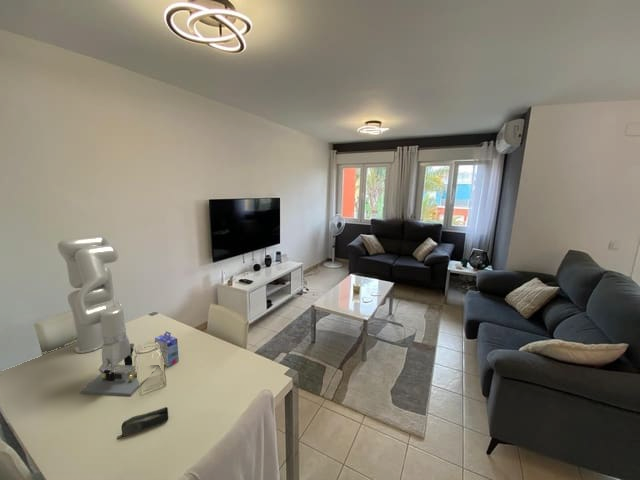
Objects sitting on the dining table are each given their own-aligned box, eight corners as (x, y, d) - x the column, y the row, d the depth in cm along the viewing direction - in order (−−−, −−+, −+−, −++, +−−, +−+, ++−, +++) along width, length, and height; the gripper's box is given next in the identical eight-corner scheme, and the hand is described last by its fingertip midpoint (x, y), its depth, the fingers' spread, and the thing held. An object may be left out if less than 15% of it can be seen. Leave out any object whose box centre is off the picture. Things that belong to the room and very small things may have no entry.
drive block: (116, 373, 115) (115, 364, 114) (133, 374, 115) (132, 365, 114) (107, 381, 111) (106, 371, 110) (125, 382, 110) (124, 372, 109)
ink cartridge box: (179, 360, 127) (177, 333, 124) (169, 367, 122) (166, 339, 119) (166, 354, 131) (164, 328, 128) (155, 360, 126) (153, 333, 123)
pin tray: (113, 366, 121) (111, 358, 120) (156, 369, 120) (156, 361, 120) (80, 393, 106) (79, 384, 105) (130, 396, 105) (129, 387, 104)
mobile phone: (167, 404, 96) (116, 421, 88) (167, 410, 93) (115, 428, 86) (168, 416, 97) (117, 433, 89) (168, 422, 94) (116, 441, 86)
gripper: (122, 325, 117) (127, 359, 121) (87, 348, 100) (93, 387, 104) (138, 326, 117) (142, 359, 121) (106, 349, 100) (112, 388, 104)
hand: (120, 372), depth 112 cm, fingers open, 9 cm apart
